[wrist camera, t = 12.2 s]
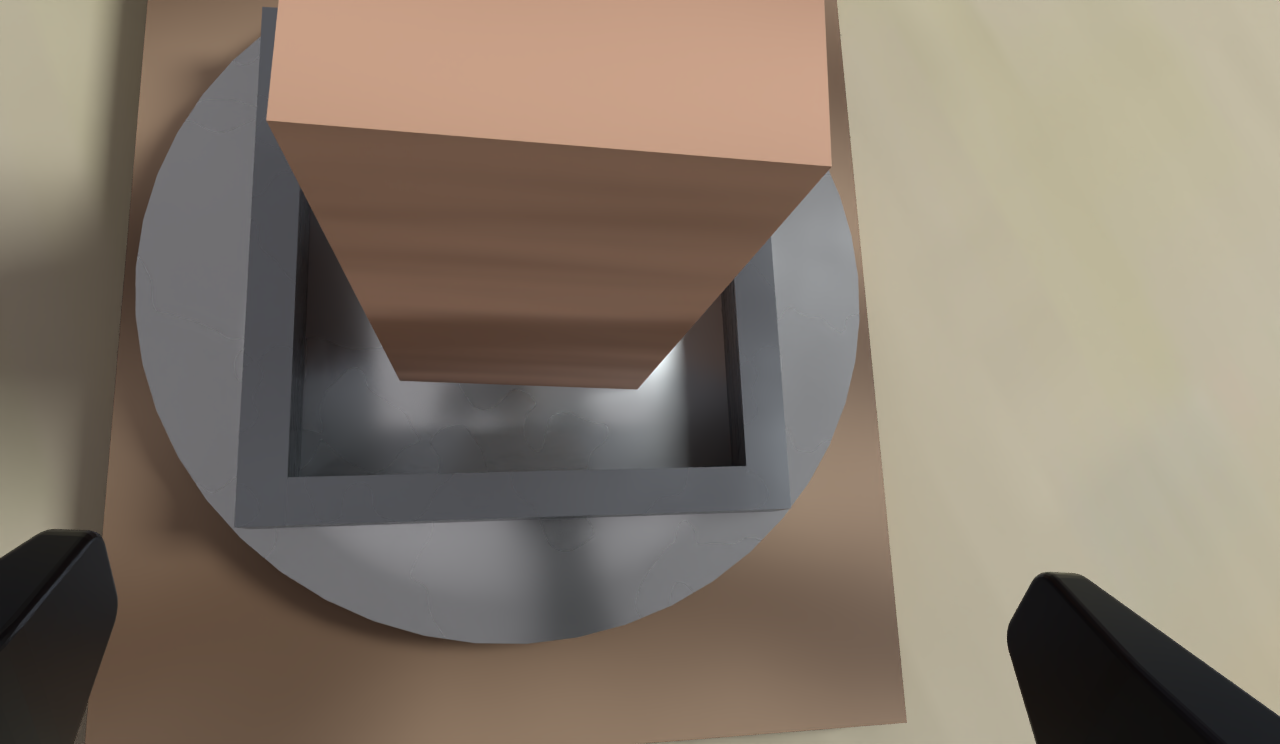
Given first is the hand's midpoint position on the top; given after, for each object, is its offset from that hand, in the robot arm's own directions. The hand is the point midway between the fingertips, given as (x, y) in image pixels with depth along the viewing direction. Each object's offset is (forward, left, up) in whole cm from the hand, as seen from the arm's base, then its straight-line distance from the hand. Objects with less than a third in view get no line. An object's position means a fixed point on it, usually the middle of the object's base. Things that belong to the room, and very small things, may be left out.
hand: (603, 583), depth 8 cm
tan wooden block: (+6, 0, -8) cm, 10 cm away
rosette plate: (+6, 0, -10) cm, 11 cm away
